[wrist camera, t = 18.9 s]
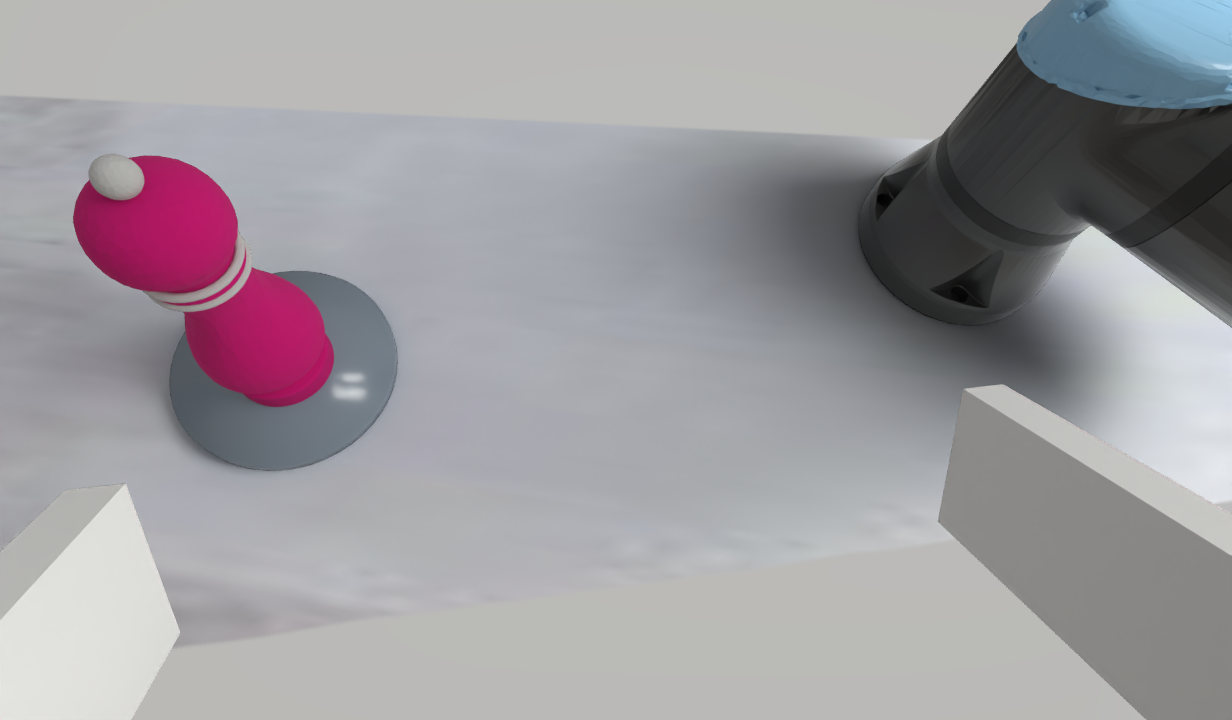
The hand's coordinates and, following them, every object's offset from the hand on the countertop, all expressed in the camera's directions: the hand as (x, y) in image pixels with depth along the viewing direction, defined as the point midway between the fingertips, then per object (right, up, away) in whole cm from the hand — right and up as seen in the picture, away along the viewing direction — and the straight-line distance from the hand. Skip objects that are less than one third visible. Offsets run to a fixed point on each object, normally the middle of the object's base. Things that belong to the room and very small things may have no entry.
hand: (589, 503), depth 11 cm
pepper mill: (-22, +2, +33) cm, 40 cm away
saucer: (-22, +2, +34) cm, 40 cm away
